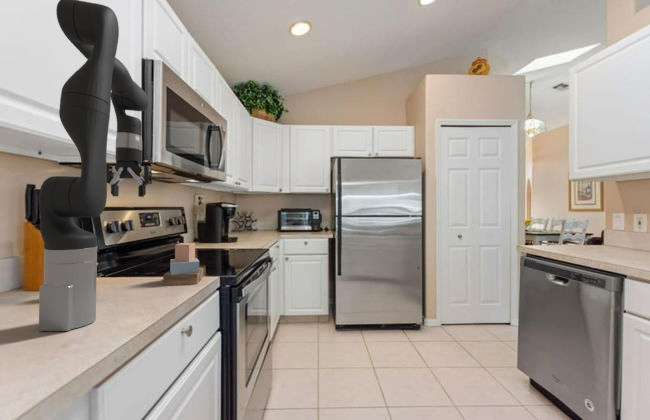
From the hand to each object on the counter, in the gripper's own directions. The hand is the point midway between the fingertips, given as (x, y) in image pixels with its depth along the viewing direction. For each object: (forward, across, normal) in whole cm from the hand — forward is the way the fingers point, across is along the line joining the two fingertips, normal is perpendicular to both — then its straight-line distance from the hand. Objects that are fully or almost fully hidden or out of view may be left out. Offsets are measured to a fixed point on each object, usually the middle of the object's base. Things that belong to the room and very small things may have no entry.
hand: (128, 196), depth 103 cm
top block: (+27, +16, +8) cm, 32 cm away
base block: (+31, +16, +8) cm, 35 cm away
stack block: (+23, +16, +8) cm, 29 cm away
